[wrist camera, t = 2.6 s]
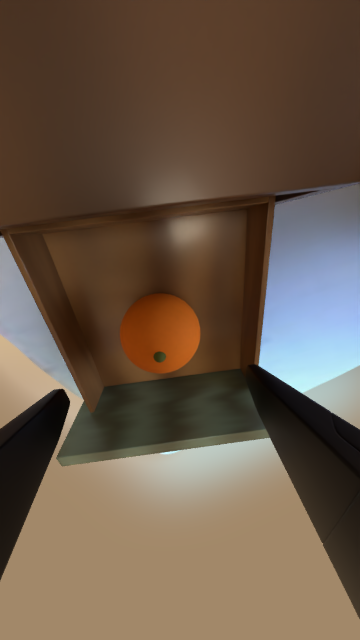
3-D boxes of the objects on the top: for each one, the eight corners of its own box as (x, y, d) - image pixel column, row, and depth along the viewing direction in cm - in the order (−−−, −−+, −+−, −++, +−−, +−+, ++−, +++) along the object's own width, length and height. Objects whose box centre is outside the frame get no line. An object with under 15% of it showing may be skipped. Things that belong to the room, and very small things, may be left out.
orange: (191, 279, 15) (206, 307, 10) (196, 339, 18) (210, 389, 12) (120, 288, 15) (94, 322, 10) (136, 347, 18) (122, 401, 12)
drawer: (264, 201, 14) (358, 171, 7) (250, 380, 22) (287, 446, 15) (25, 230, 14) (-115, 229, 7) (99, 400, 22) (69, 477, 15)
